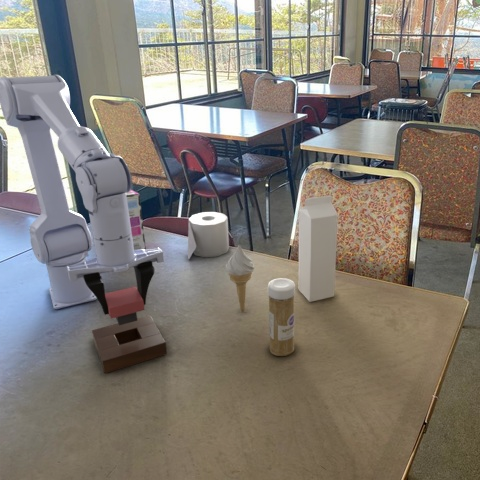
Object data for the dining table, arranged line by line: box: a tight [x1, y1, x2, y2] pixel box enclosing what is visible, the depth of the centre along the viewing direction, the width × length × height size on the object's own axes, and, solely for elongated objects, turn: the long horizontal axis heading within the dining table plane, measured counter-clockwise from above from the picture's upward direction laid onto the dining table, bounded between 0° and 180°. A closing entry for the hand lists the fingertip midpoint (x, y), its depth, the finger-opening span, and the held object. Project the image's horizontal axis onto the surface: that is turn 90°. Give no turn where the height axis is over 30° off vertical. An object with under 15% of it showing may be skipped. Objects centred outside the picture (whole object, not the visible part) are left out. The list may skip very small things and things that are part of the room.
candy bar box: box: [125, 189, 147, 250], centre depth 118 cm, size 11×5×16 cm, turn 43°
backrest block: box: [91, 314, 168, 374], centre depth 85 cm, size 10×10×2 cm
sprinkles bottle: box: [267, 277, 296, 357], centre depth 83 cm, size 5×5×14 cm
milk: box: [297, 195, 339, 303], centre depth 100 cm, size 6×6×22 cm
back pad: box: [105, 286, 145, 325], centre depth 82 cm, size 5×5×4 cm
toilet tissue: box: [187, 211, 230, 261], centre depth 120 cm, size 9×13×9 cm
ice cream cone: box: [224, 244, 255, 313], centre depth 94 cm, size 6×6×15 cm
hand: (124, 307), depth 82 cm, fingers closed on back pad, 5 cm apart
